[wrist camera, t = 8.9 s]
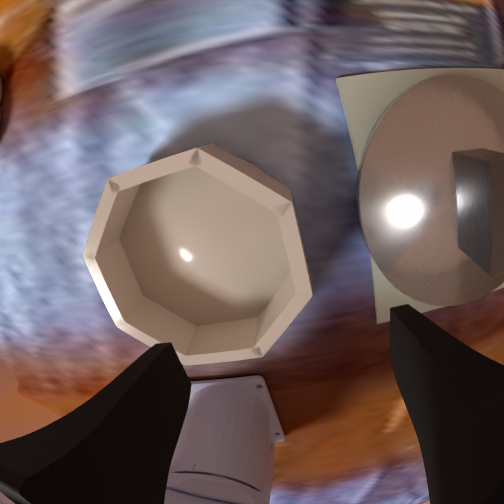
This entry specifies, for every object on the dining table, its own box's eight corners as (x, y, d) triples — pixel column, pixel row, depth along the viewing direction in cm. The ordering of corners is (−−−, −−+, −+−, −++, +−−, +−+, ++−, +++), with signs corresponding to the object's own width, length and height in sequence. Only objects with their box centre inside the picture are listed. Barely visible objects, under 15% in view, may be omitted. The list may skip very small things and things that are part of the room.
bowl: (317, 309, 21) (322, 347, 17) (158, 334, 23) (139, 368, 19) (275, 126, 17) (273, 126, 13) (96, 183, 19) (61, 198, 15)
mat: (524, 276, 18) (527, 278, 18) (376, 320, 21) (377, 324, 20) (516, 70, 13) (519, 70, 12) (335, 79, 15) (336, 78, 15)
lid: (531, 272, 18) (566, 302, 13) (369, 319, 20) (387, 369, 16) (525, 78, 12) (571, 77, 8) (330, 88, 15) (348, 74, 11)
